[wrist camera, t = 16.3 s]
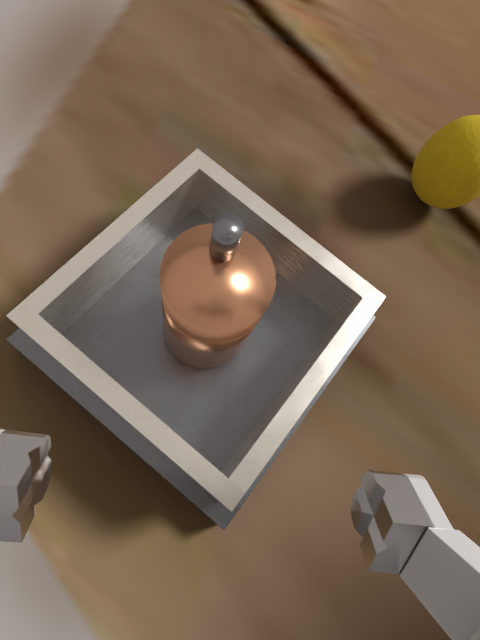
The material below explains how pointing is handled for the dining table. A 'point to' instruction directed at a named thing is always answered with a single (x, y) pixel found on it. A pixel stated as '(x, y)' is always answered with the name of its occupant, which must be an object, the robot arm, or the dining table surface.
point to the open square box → (171, 373)
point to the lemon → (450, 165)
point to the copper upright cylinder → (214, 290)
